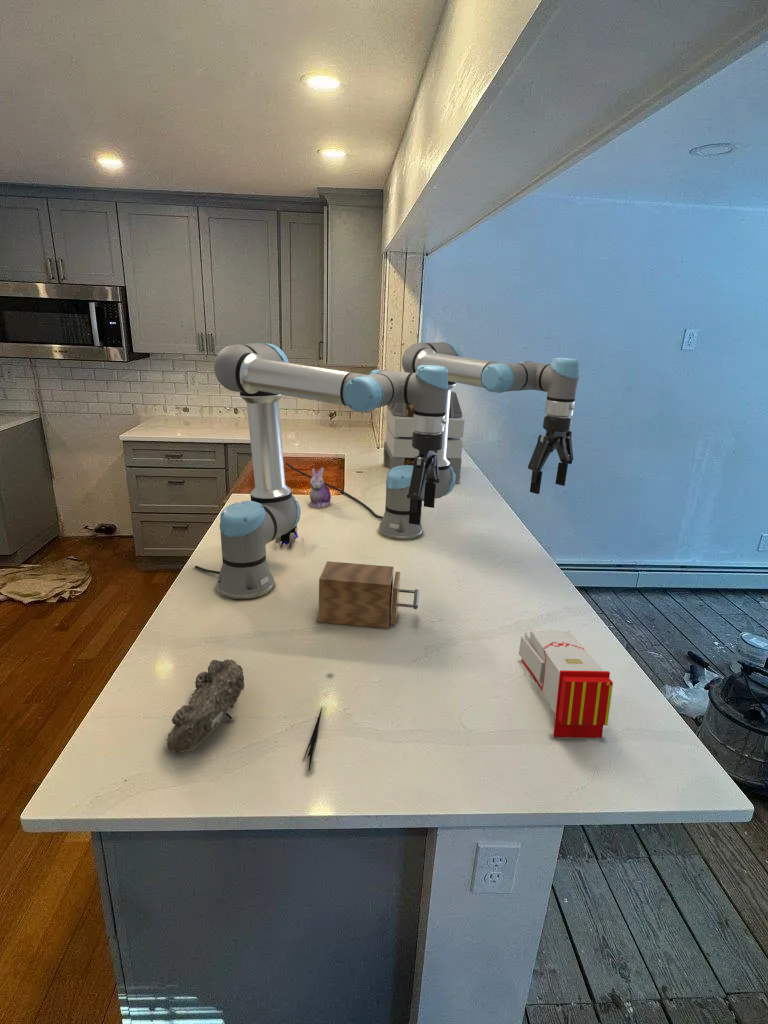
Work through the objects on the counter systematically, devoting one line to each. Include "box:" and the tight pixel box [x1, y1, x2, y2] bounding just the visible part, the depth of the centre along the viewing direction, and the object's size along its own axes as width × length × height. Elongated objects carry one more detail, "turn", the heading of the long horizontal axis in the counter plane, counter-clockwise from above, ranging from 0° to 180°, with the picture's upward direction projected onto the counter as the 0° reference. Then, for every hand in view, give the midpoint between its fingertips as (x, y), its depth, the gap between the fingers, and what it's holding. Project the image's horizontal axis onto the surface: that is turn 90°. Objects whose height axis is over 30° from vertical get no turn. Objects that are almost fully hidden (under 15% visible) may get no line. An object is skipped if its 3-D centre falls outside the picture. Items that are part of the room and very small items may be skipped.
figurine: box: [309, 466, 332, 509], centre depth 223 cm, size 9×10×15 cm
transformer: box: [383, 390, 465, 484], centre depth 268 cm, size 34×33×41 cm
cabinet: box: [318, 560, 395, 629], centre depth 144 cm, size 17×10×12 cm, turn 84°
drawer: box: [390, 571, 420, 625], centre depth 144 cm, size 21×9×10 cm, turn 85°
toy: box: [518, 629, 614, 739], centre depth 118 cm, size 12×13×30 cm
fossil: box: [166, 658, 245, 754], centre depth 106 cm, size 22×10×15 cm
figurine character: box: [274, 522, 299, 549], centre depth 188 cm, size 7×8×15 cm
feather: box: [301, 673, 332, 771], centre depth 108 cm, size 2×28×2 cm
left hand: (422, 515), depth 143 cm, fingers open, 13 cm apart
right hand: (547, 488), depth 165 cm, fingers open, 13 cm apart
